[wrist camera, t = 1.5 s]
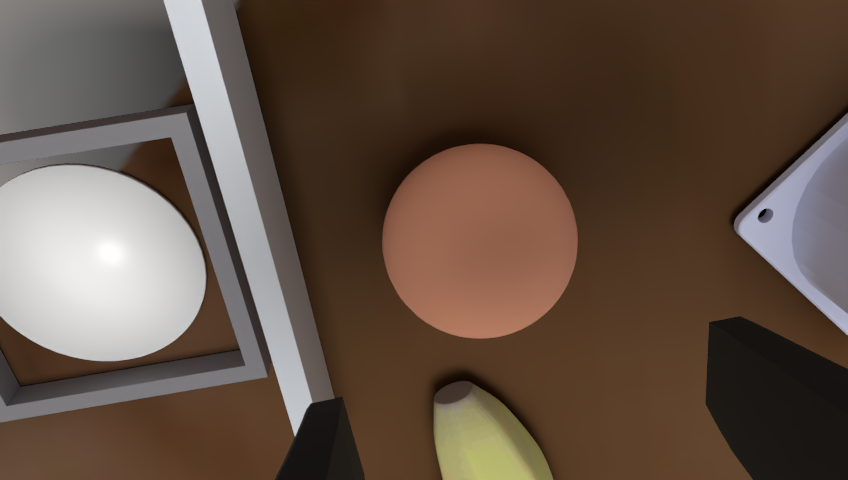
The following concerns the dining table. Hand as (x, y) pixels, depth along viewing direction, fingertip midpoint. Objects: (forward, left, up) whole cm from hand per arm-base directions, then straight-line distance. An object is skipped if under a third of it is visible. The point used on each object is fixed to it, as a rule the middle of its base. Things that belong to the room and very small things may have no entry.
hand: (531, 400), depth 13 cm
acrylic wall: (+4, -4, -9) cm, 11 cm away
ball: (0, 0, -7) cm, 7 cm away
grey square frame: (+9, -8, -9) cm, 15 cm away
